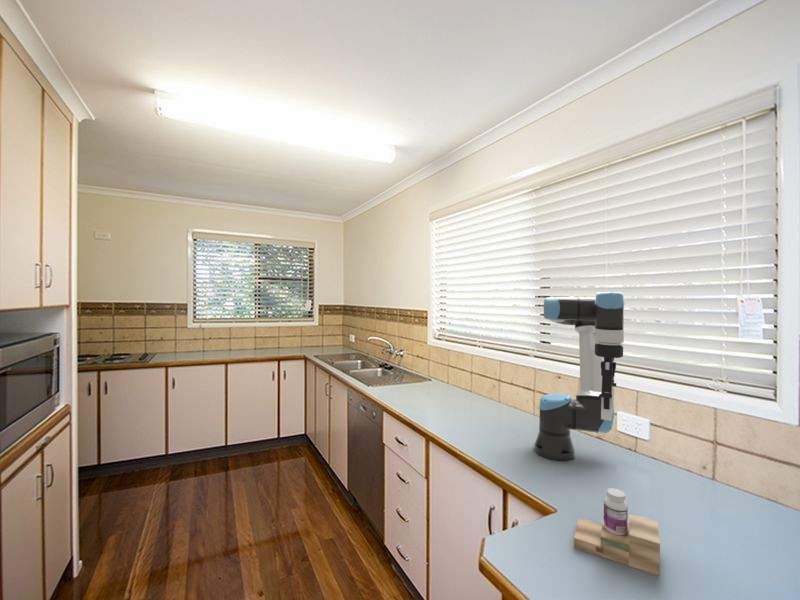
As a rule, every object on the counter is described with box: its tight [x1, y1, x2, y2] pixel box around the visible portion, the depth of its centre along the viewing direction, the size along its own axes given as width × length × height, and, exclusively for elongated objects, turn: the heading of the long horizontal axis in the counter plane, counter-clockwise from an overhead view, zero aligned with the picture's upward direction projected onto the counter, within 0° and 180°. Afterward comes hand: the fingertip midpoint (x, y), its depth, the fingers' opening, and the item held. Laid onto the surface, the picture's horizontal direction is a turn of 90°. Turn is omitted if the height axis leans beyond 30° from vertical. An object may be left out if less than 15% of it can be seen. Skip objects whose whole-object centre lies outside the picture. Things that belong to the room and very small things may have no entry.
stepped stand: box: [573, 513, 661, 577], centre depth 95 cm, size 10×18×8 cm, turn 58°
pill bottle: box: [603, 487, 629, 535], centre depth 95 cm, size 5×5×10 cm
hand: (607, 413), depth 113 cm, fingers open, 13 cm apart
